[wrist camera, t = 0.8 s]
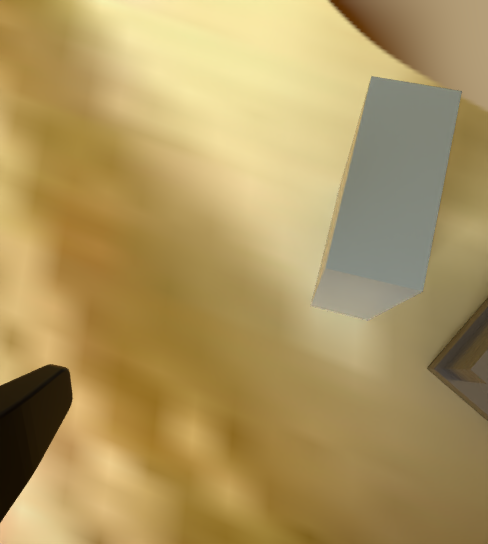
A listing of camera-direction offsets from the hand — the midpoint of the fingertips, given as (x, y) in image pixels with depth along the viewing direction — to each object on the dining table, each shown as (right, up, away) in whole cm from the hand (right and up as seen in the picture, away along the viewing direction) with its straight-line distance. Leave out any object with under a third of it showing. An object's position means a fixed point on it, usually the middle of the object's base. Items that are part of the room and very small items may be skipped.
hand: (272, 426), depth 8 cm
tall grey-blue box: (+5, +4, +14) cm, 15 cm away
